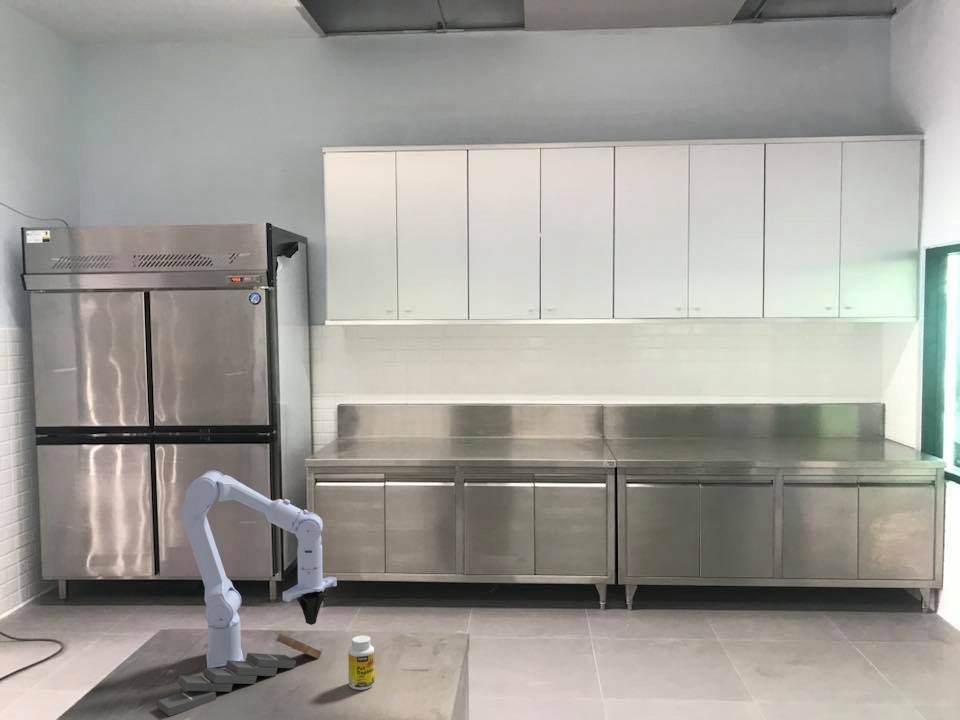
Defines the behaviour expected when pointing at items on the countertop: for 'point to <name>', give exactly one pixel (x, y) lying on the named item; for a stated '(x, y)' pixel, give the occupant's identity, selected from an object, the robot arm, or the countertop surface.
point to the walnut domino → (298, 646)
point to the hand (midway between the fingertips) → (310, 623)
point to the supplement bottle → (361, 663)
